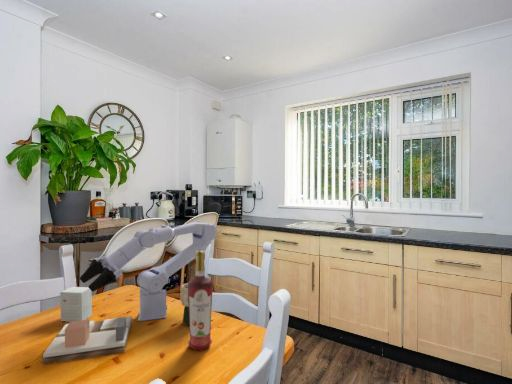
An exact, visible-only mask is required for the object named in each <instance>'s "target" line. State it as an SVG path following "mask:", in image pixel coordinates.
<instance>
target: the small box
mask: <svg viewBox="0 0 512 384" xmlns="http://www.w3.org/2000/svg"><path fill="white" fill-rule="evenodd" d="M92 293H93V292H92V291H91V290H90V289H89V287H88V286H87V287H85V286H84V287H83V286H71V287H68V288H66V289H64V290H62V291H60V298H59V299H60V300H59V301H60V322H62V321H66V322H65V323H67V322H69V323H70V322H72V321H81V320H88V319H89V318H90V317H92V315H93V303H92V299H93V297H92Z"/></svg>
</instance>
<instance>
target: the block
mask: <svg viewBox="0 0 512 384" xmlns="http://www.w3.org/2000/svg"><path fill="white" fill-rule="evenodd" d="M90 321H91V320H90V319H86V320H81V321H72V322H69V323H67V324H68V326H67V327H66V329H65V347H72V346H79V345H85V344H86V342H87V340H88V338H89V336H90Z"/></svg>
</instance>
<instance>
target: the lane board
mask: <svg viewBox="0 0 512 384" xmlns="http://www.w3.org/2000/svg"><path fill="white" fill-rule="evenodd" d="M120 318H126V328H128V335H127V339H126V343H125V346H121V347H114V348H107V349H100V350H93V351H86V352H79V353H73V354H66V355H59V356H52V357H45V358H43V359H42V360H41V365H42V364H43V365H48V364H47V363H50V364H56V363H55V362H57V363H61V362H62V361H63V362H69V361H76V360H83V359H88V358H89V359H90V358H96V357H101V356H107V355H115V354H123V353H125V352H126V351H125V350H126V346H127V342H128V338H129V335H130V330H131V326H132V322H133V316H131V315H130V316H123V317H115V318H114V317H113V318H105V319H104V320H99V321H95V320H89V321H90V333H94V332H102V331H109V330H116V326H117V323H118V320H119V319H120ZM68 324H69V323H66V324H64V325H63V327H62V329H60V331H59V333H58V334H57V337H63V336H65V329H66V327H67V326H68Z"/></svg>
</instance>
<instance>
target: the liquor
mask: <svg viewBox="0 0 512 384" xmlns="http://www.w3.org/2000/svg"><path fill="white" fill-rule="evenodd" d="M205 252H206V250H205V251H196V258H195V272H194V273H195V275H194V278H191V279H190V280H189V281H188V282H187V285H188V306H189V324H188V327H189V340H188V345H189V347H191V348H192V349H193V350H196V351H204V350H206V349H207V348H208V347H209V346H210V345H211V344H212V343H213V339H212V338H211V329H212V328H211V326H212V324H211V322H212V306H213V305H212V304H213V283H214V281H213V280H212V279H210V278H209V277H206V268H205V259H206V257H205V255H206V253H205Z"/></svg>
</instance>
